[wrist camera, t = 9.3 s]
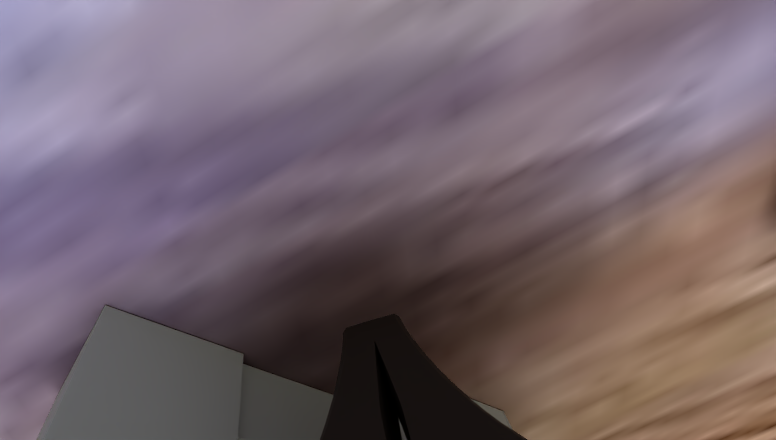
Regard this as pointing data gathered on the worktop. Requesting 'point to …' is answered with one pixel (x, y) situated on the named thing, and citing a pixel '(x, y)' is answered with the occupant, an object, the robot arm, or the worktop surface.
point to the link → (179, 391)
